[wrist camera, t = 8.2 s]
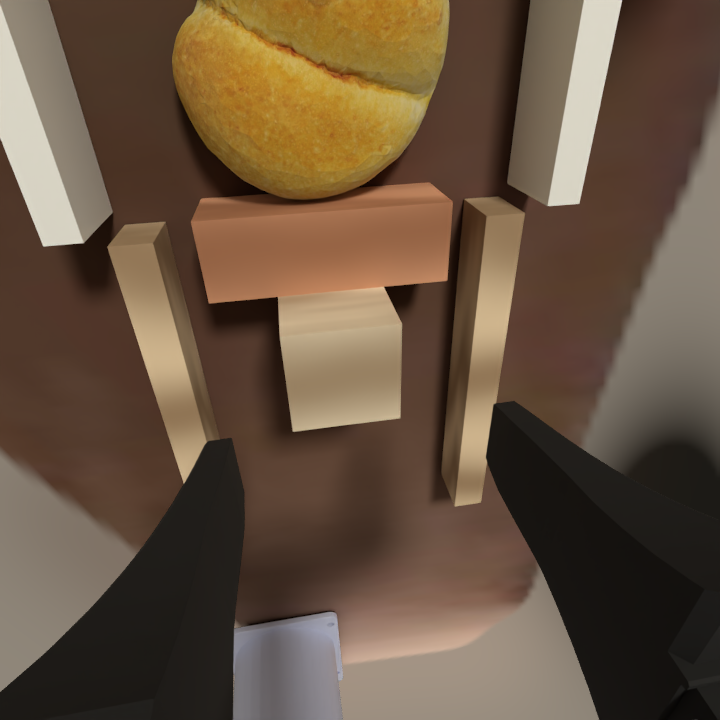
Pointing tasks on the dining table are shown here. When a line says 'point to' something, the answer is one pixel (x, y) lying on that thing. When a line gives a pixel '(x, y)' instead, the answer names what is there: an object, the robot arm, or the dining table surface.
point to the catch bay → (84, 180)
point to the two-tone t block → (329, 286)
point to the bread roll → (309, 86)
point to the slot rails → (468, 355)
